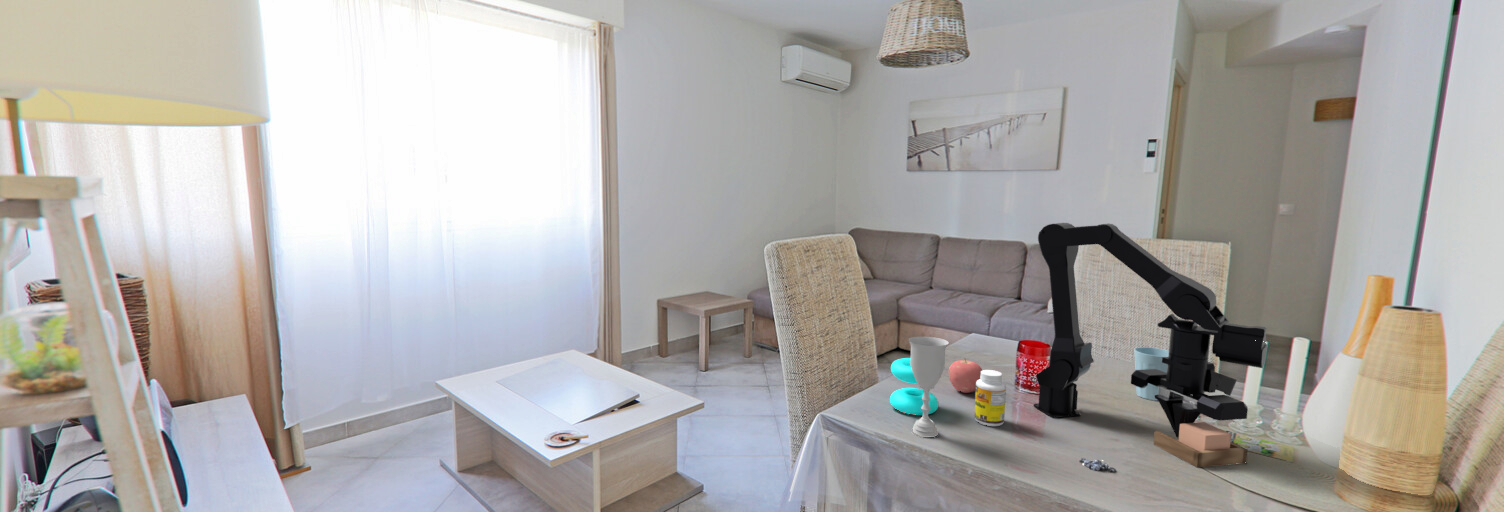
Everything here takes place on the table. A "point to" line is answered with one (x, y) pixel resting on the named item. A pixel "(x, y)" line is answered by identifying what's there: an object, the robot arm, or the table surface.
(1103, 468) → the metal chain
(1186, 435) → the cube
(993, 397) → the supplement bottle
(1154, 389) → the cup
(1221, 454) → the frame
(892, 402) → the donuts
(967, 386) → the apple
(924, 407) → the chalice
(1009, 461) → the table surface
